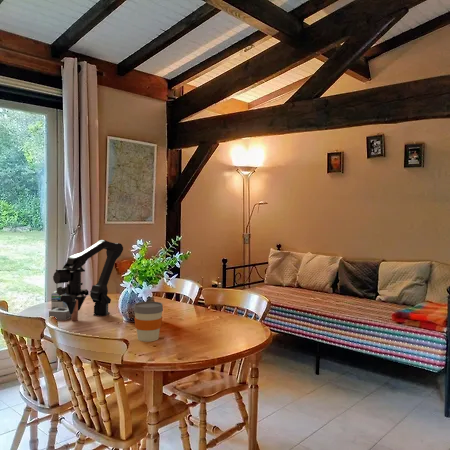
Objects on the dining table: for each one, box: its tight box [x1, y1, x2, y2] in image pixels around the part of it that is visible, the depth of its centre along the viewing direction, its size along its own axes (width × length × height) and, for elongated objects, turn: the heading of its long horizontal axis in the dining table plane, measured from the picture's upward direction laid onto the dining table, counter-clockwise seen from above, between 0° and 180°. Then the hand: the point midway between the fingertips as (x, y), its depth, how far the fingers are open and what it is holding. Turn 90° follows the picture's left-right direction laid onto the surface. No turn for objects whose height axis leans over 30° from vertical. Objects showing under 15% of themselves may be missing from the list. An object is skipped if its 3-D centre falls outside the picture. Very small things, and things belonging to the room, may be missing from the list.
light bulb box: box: [50, 289, 68, 310], centre depth 238 cm, size 11×7×11 cm, turn 179°
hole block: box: [48, 307, 72, 321], centre depth 223 cm, size 9×9×4 cm
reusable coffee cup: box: [133, 301, 164, 343], centre depth 190 cm, size 13×13×15 cm
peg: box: [71, 300, 79, 322], centre depth 218 cm, size 3×3×10 cm
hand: (74, 312), depth 218 cm, fingers open, 7 cm apart
